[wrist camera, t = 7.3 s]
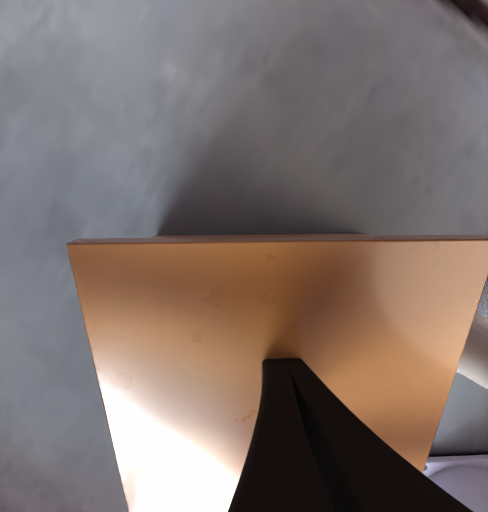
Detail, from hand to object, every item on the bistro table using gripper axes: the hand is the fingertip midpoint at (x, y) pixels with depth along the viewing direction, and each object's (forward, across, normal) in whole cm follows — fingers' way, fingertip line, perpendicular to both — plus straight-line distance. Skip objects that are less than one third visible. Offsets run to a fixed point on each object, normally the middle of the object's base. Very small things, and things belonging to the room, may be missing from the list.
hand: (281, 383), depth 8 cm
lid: (+1, 0, +2) cm, 2 cm away
